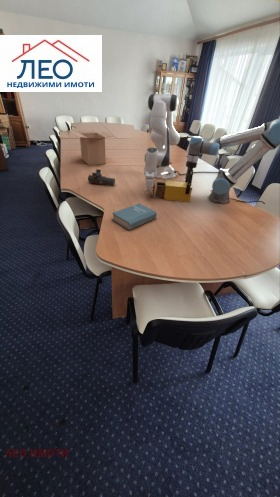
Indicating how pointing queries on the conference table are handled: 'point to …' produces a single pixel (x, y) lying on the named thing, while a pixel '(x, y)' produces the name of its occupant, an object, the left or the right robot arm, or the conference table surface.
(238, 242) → the conference table surface
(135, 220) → the book
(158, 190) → the drawer
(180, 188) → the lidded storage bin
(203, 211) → the conference table surface
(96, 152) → the box
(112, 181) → the laser sight
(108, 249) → the conference table surface
